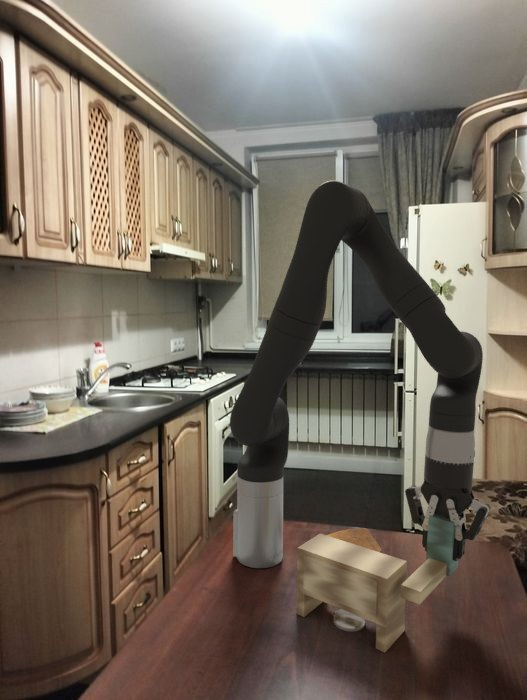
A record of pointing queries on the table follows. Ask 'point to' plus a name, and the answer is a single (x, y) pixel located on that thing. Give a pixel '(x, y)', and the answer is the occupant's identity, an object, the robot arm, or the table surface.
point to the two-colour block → (432, 561)
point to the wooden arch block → (353, 584)
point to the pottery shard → (357, 538)
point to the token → (348, 621)
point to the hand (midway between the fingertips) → (442, 554)
